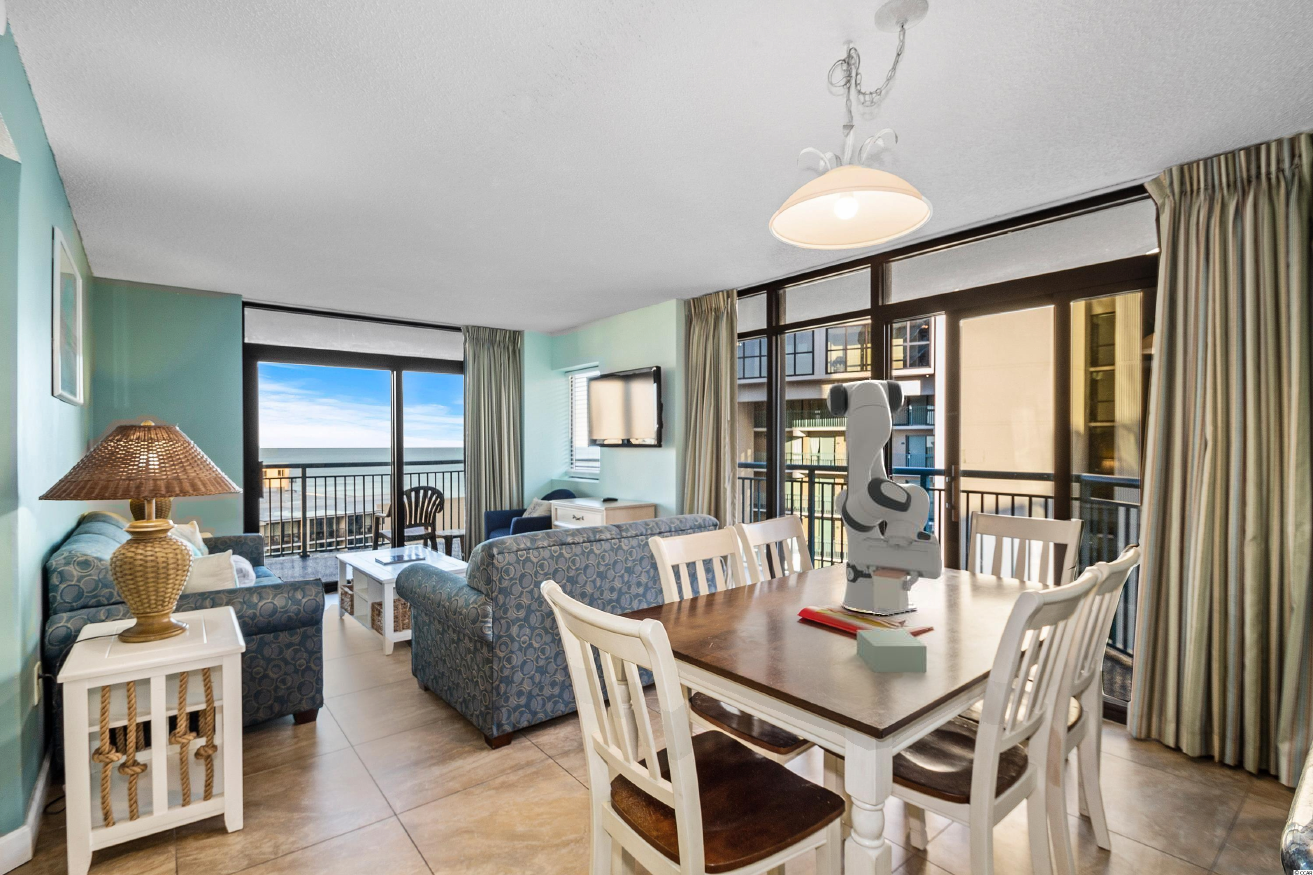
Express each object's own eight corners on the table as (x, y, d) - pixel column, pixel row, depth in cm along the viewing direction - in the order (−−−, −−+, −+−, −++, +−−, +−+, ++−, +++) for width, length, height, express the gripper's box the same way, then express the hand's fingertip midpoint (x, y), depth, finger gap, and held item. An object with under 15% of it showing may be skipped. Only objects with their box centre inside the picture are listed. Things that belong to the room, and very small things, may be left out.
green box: (904, 653, 154) (904, 629, 154) (926, 672, 142) (926, 645, 142) (856, 653, 154) (856, 629, 154) (874, 672, 142) (874, 645, 142)
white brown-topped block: (882, 601, 152) (881, 568, 152) (907, 604, 148) (907, 571, 148) (873, 606, 147) (873, 572, 147) (899, 610, 143) (899, 575, 144)
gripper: (858, 529, 160) (843, 573, 152) (942, 536, 147) (931, 585, 139) (864, 544, 163) (850, 588, 156) (948, 552, 150) (937, 601, 143)
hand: (889, 587), depth 147 cm, fingers closed on white brown-topped block, 6 cm apart
